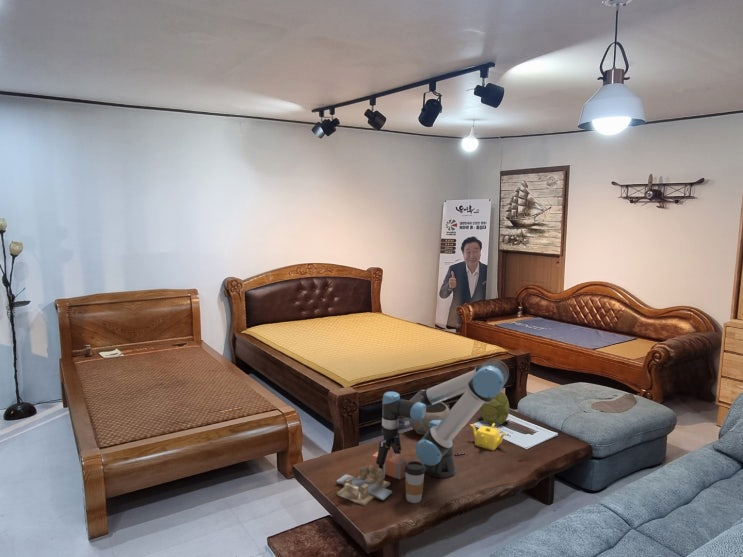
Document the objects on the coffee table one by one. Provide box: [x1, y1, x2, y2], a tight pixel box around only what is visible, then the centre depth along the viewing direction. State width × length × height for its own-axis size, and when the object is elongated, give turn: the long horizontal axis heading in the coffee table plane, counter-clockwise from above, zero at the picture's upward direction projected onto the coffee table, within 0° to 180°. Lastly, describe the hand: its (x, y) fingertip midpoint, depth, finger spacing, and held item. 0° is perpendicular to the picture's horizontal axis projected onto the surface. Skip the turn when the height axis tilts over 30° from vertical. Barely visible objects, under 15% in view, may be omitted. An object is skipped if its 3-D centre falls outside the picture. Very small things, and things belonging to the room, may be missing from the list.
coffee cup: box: [404, 460, 426, 504], centre depth 215 cm, size 8×8×15 cm
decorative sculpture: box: [479, 389, 510, 425], centre depth 297 cm, size 16×16×20 cm
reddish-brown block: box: [371, 451, 407, 480], centre depth 237 cm, size 5×15×7 cm, turn 57°
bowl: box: [407, 401, 451, 436], centre depth 281 cm, size 23×23×15 cm
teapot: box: [469, 423, 508, 451], centre depth 267 cm, size 15×14×10 cm
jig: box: [336, 464, 393, 506], centre depth 221 cm, size 24×20×6 cm
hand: (388, 471), depth 237 cm, fingers open, 11 cm apart
